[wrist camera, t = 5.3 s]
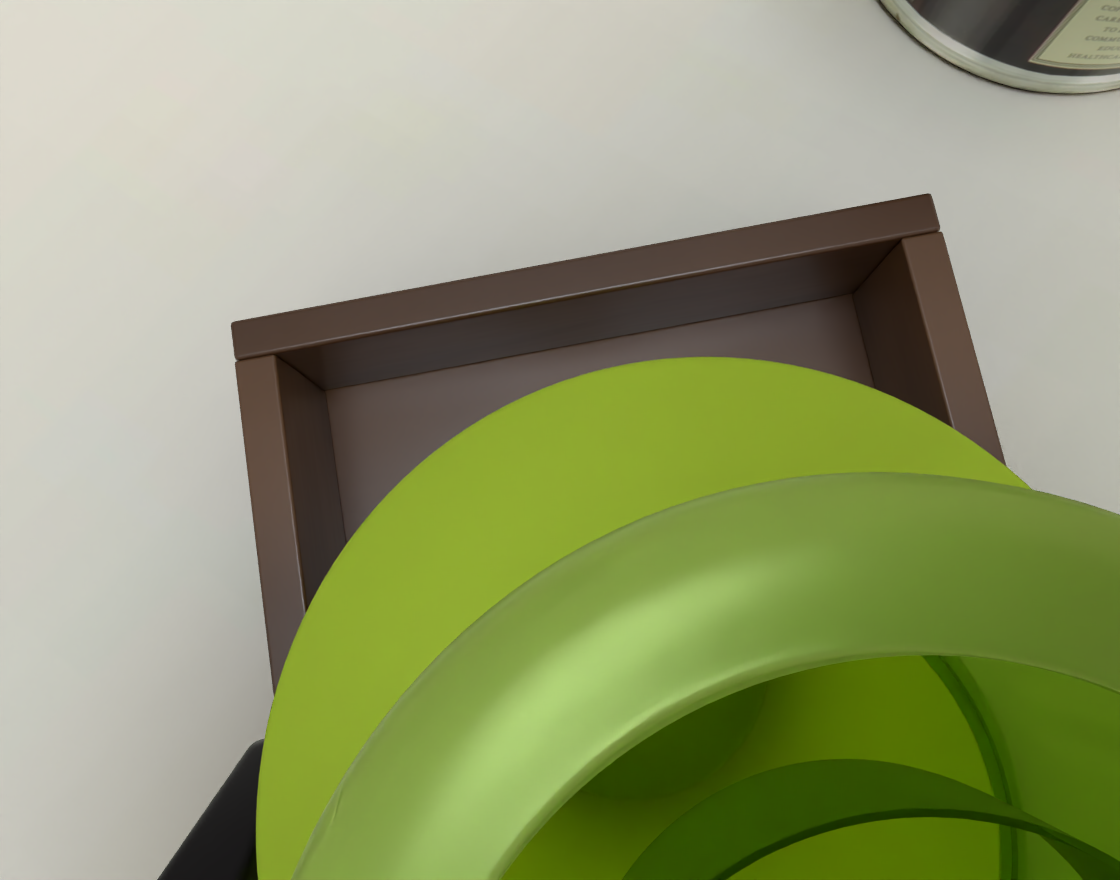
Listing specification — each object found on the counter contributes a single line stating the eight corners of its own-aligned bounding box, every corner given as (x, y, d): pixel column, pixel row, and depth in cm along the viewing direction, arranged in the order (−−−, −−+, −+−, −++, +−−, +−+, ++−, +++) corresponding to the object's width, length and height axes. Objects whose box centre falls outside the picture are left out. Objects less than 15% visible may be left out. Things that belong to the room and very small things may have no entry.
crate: (1043, 936, 18) (1161, 1027, 14) (383, 1054, 18) (328, 1176, 14) (870, 262, 20) (932, 191, 16) (294, 369, 20) (228, 320, 17)
